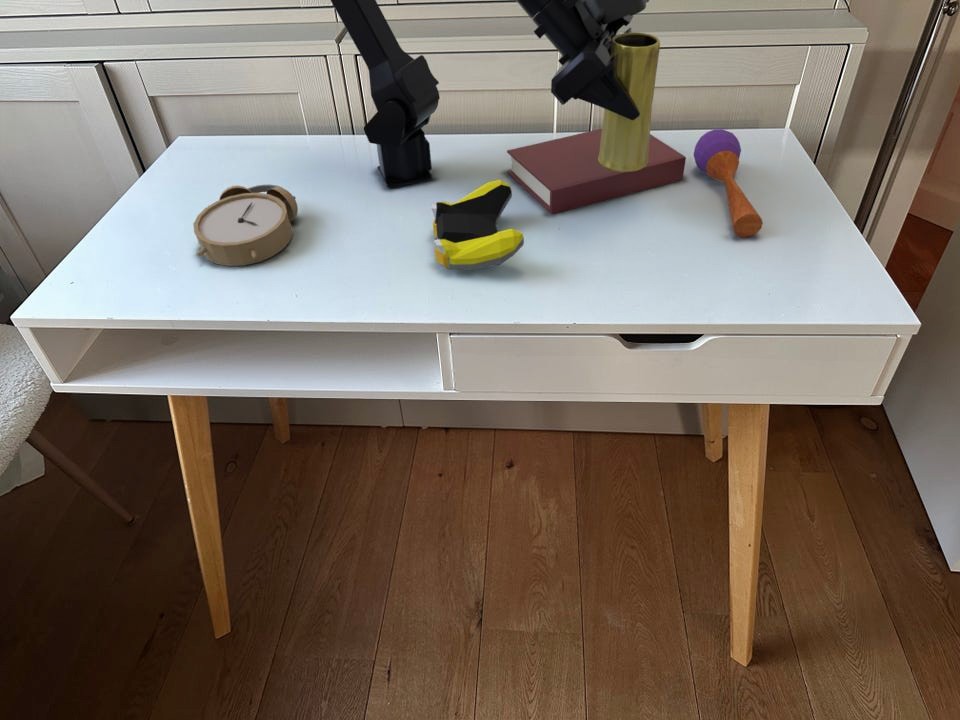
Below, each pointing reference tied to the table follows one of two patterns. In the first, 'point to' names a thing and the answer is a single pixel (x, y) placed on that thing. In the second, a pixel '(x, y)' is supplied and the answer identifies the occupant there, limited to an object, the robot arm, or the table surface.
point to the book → (587, 171)
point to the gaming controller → (475, 229)
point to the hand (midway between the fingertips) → (640, 108)
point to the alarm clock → (246, 225)
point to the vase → (637, 71)
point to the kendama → (727, 177)
